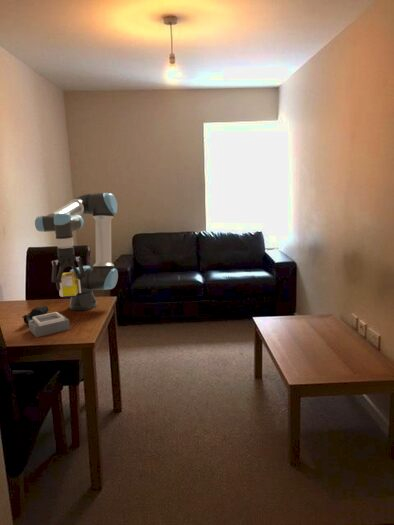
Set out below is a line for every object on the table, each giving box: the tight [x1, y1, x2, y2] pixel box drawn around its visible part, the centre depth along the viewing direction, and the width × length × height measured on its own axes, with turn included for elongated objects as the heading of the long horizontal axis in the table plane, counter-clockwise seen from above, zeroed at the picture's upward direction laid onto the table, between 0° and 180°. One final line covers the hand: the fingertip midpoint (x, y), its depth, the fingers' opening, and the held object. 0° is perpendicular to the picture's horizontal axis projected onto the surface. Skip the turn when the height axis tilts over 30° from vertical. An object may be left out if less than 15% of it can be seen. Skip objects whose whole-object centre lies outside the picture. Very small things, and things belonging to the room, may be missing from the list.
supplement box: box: [60, 271, 78, 299], centre depth 199 cm, size 6×6×11 cm
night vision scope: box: [21, 305, 49, 325], centre depth 221 cm, size 8×18×10 cm
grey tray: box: [28, 311, 71, 338], centre depth 208 cm, size 16×12×6 cm
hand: (70, 294), depth 200 cm, fingers closed on supplement box, 8 cm apart
